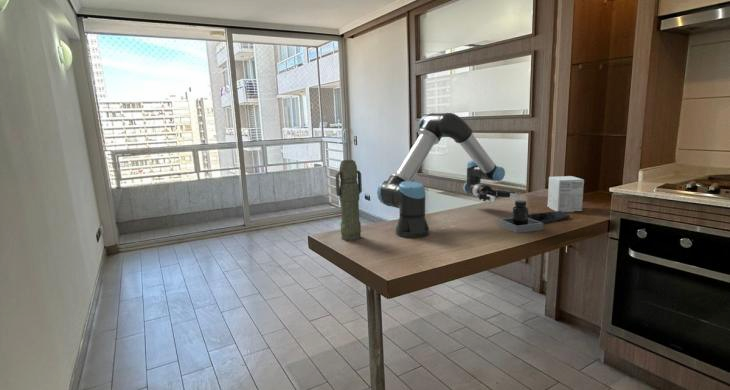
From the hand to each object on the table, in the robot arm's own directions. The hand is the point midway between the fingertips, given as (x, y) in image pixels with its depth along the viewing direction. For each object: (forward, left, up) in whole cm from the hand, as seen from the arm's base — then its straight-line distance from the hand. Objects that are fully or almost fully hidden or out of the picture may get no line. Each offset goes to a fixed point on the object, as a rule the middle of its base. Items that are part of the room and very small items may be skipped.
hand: (506, 198), depth 192 cm
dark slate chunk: (+22, -2, -13) cm, 25 cm away
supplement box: (+44, +11, -12) cm, 47 cm away
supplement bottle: (0, -10, -12) cm, 15 cm away
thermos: (-78, +4, -12) cm, 79 cm away
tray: (0, -10, -12) cm, 16 cm away
